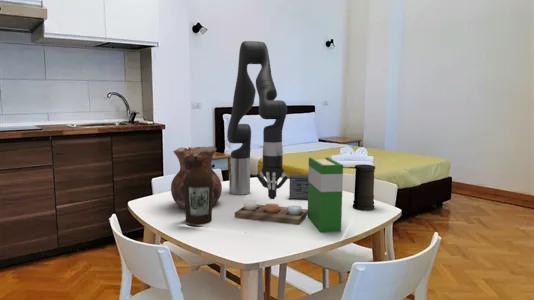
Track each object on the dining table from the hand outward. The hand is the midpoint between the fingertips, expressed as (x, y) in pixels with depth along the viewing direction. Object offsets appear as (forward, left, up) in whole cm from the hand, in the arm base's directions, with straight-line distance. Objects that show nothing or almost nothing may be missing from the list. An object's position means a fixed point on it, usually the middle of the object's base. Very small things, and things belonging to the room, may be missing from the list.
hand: (272, 198), depth 160 cm
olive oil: (-24, -15, -8) cm, 29 cm away
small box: (+2, +35, -8) cm, 36 cm away
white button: (-9, 0, -5) cm, 10 cm away
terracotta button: (0, 0, -5) cm, 5 cm away
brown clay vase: (-36, +6, -8) cm, 37 cm away
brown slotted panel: (0, 0, -8) cm, 8 cm away
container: (+31, +28, -8) cm, 43 cm away
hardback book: (+20, -3, -8) cm, 22 cm away
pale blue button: (+9, 0, -5) cm, 10 cm away
